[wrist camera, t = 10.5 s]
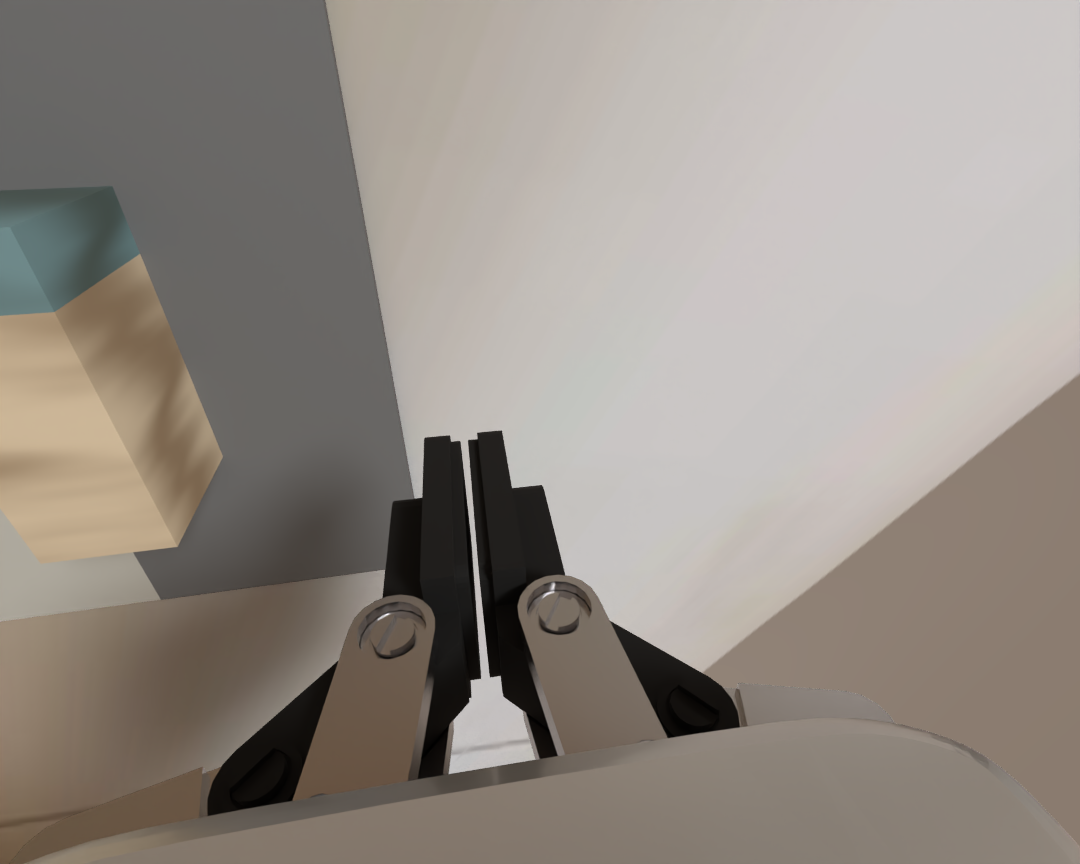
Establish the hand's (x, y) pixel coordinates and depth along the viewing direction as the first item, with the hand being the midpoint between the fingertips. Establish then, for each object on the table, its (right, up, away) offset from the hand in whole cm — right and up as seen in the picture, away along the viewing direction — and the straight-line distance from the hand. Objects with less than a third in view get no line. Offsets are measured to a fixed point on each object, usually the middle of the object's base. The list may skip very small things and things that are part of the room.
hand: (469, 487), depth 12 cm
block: (-13, +7, +2) cm, 15 cm away
